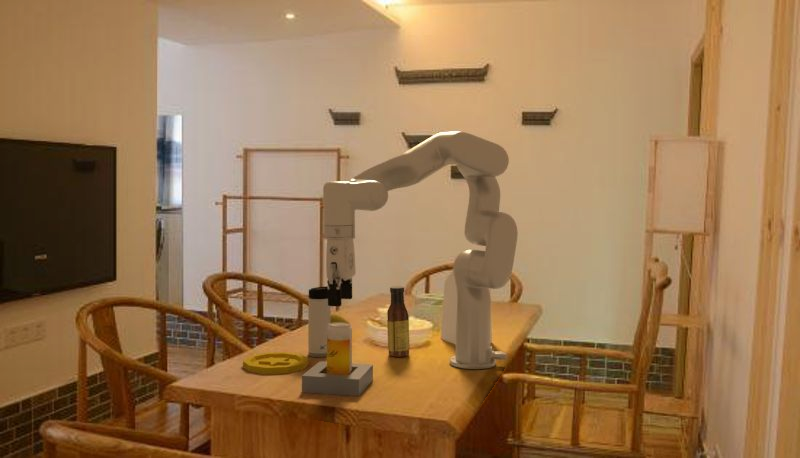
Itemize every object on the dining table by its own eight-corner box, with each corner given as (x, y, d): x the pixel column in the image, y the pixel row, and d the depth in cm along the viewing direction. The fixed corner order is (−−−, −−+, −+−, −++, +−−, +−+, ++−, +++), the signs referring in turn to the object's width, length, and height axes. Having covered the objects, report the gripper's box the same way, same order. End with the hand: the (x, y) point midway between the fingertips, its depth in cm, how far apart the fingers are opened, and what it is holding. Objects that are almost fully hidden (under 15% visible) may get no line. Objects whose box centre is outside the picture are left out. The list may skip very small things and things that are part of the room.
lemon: (311, 340, 229) (311, 315, 229) (324, 335, 236) (324, 311, 236) (341, 344, 225) (342, 318, 224) (354, 339, 232) (354, 314, 231)
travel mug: (327, 358, 207) (327, 288, 205) (305, 356, 208) (305, 287, 207) (334, 353, 213) (334, 285, 211) (312, 351, 214) (312, 284, 213)
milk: (472, 335, 239) (474, 256, 237) (491, 342, 229) (493, 260, 227) (440, 338, 234) (441, 257, 232) (458, 346, 223) (459, 261, 222)
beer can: (327, 381, 182) (327, 321, 181) (351, 380, 183) (351, 321, 182) (326, 388, 176) (326, 326, 175) (351, 387, 177) (352, 326, 176)
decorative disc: (310, 373, 192) (310, 366, 192) (242, 376, 188) (242, 368, 188) (306, 358, 208) (306, 351, 208) (243, 360, 205) (243, 353, 205)
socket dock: (372, 380, 185) (373, 364, 184) (358, 396, 171) (359, 379, 171) (319, 376, 188) (319, 361, 187) (301, 392, 174) (301, 375, 174)
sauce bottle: (412, 354, 212) (413, 286, 211) (403, 358, 207) (404, 289, 205) (392, 351, 215) (393, 284, 214) (383, 356, 210) (383, 287, 208)
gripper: (344, 235, 168) (345, 309, 169) (363, 229, 184) (364, 296, 186) (313, 235, 169) (314, 308, 170) (334, 229, 186) (335, 295, 187)
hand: (340, 302), depth 178 cm, fingers open, 9 cm apart
